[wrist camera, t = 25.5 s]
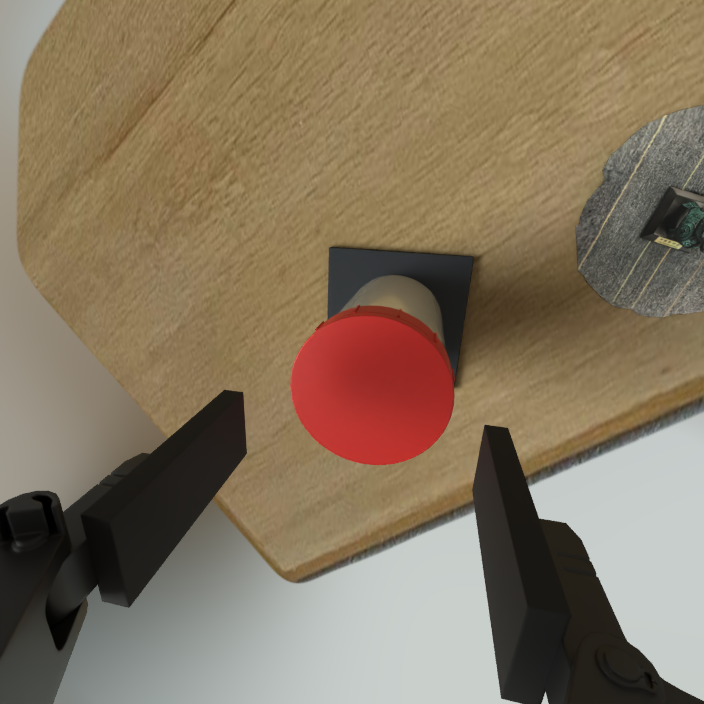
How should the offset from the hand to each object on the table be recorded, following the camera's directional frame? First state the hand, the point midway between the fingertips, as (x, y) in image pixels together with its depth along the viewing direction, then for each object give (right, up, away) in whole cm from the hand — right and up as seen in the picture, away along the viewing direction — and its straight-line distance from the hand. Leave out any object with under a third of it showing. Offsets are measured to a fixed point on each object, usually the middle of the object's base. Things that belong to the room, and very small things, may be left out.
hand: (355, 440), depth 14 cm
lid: (+1, +1, +4) cm, 4 cm away
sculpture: (+20, +11, +9) cm, 25 cm away
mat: (+3, +6, +15) cm, 16 cm away
